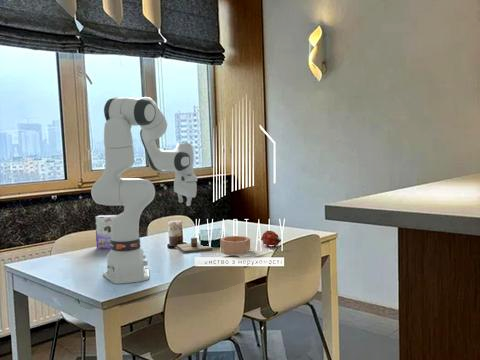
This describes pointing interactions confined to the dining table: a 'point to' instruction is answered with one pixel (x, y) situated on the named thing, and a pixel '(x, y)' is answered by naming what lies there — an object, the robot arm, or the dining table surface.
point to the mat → (192, 252)
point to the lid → (193, 247)
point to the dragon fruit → (270, 238)
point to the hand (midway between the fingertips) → (184, 203)
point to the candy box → (103, 231)
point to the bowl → (235, 244)
